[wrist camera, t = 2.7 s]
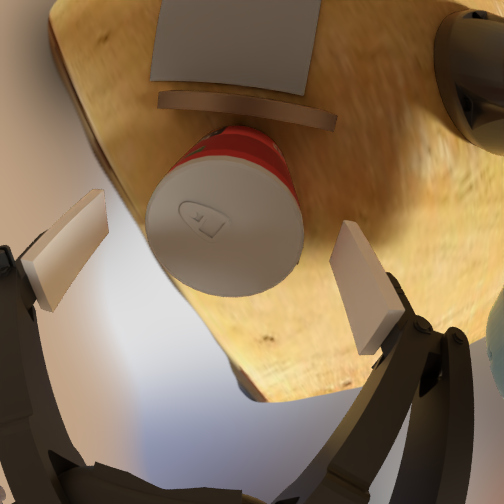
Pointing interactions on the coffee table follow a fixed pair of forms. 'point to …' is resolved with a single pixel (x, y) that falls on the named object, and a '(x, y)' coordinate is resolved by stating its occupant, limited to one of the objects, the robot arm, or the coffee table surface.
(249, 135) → the canned food
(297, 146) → the coffee table surface
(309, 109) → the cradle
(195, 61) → the mat
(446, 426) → the robot arm
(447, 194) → the coffee table surface
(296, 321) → the coffee table surface
